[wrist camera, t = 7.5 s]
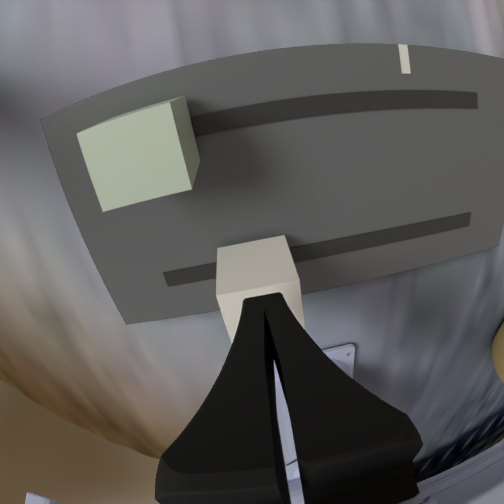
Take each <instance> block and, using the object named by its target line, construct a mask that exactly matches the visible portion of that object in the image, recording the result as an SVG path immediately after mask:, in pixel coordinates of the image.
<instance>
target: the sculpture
mask: <svg viewBox="0 0 504 504" xmlns="http://www.w3.org/2000/svg"><path fill="white" fill-rule="evenodd" d="M492 359H493V364H494V367H495V370H496V372H497V374H498V376H499V378H500V379H501V380H502V382H503V383H504V322H503V323H502V325H501V327H500V328H499V330H498V332H497V334H496V336H495V338H494V340H493V343H492Z"/></svg>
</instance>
